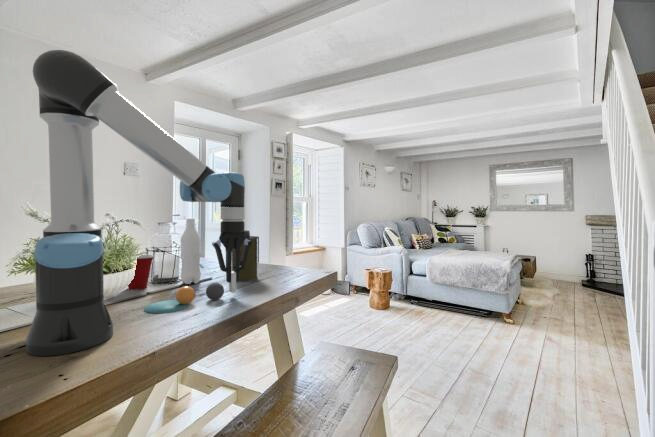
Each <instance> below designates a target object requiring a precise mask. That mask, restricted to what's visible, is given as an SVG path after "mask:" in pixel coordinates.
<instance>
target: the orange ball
mask: <svg viewBox="0 0 655 437" xmlns="http://www.w3.org/2000/svg"><path fill="white" fill-rule="evenodd" d="M195 298H196V292H195V290H194V288H193V287H191V286H188V285H183V286H181V287H180V288H178V289H177V290H176V292H175V300H177V302H179V303H180V304H189V305H190V304H191V303H192V302H193V301H194V300H195Z"/></svg>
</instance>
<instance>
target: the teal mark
mask: <svg viewBox="0 0 655 437" xmlns="http://www.w3.org/2000/svg"><path fill="white" fill-rule="evenodd" d="M189 306H190V303H189V304H180V303H179V302H177V300H176V299H174V300H173V299H171V300H170V299H169V300H163V301H162V300H161V301H158V302H153V303H151V304H148V305H146V306H144V308H143V311H144V312H145V313H149V314H169V313H174V312H179V311H182V310H184V309H187V308H188V307H189Z"/></svg>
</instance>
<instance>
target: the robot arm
mask: <svg viewBox="0 0 655 437" xmlns="http://www.w3.org/2000/svg"><path fill="white" fill-rule="evenodd" d="M32 75H33V76H32V77H33V79H34V81H35V84H36V85H37V88H38V106H39V107H38V108H39V117H40V119H42V120H43V121H44V122H45V123H46V124H47V126H48V154H49V155H48V156H49V158H48V160H49V190H50V191H49V192H50V193H49V194H50V223H49V225H47V226H46V227H45V228H43V229H42V235H43V236H42V237H41V238H40V239H38V240H37V241H36V243H35V246H34V251H33V258H34V263H35V267H34V268H35V304H36V306H35V307H36V309H35V310H36V312H35V315H34V317H33V319H32V322H31V326H30V328H29V330H28V334H27V335H26V338H25V352H26V353H27V354H29V355H32V356H37V357H38V356H41V357H45V356H46V357H49V356H58V355H65V354H70V353H71V354H72V353H75V352H79V351H83V350H86V349H90V348H93V347H95V346H98V345H100V344H102V343H104V342H106V341H107V340H109V339H110V338H111V337H112V336H113V335H114V324H113V321H112V318H111V316H110V313H109V311H108V309H107V306H106V305H105V300H104V253H105V248H104V245H103V240H102V239H103V237H102V236H103V235H102V227H101V226H100V225H98V224H97V223H96V222H95V200H94V199H95V198H94V194H95V192H94V160H93V158H94V156H93V155H94V154H93V153H94V152H93V129H95V128H96V127H98V126H99V124H100V121H101V123H103V124H105V125H106V127H108V128H110V129H111V130H113V131H114V132H115V133H117V134H118V135H119V136H121V137H122V138H123V139H125V140H126V141H127V142H128V143H130V144H131V145H132V146H134V147H135V148H136V149H138V150H139V151H140V152H142V153H144V155H146V156H147V157H148V158H150V160H153V161H154V162H156V164H158V165H159V166H160V167H162V168H163V169H164V170H166V171H167V172H168V173H170V174H171V175H172V176H174V178H176V179H178V180H179V181H180V182H179V197H180V199H181V200H182V201H183V202H187V203H188V202H189V203H195V202H196V203H206V202H207V203H220V220H221V222H220V233H219V234H220V235H219V237H218V239H217V240H216V241H213V242H212V243H211V245H212V247H213V248H214V249H215V254H216V257H217V261H218V266H219V268H220V271H221V272H223V273H225V280H226V282H227V283H228V287H229V288H228V289H229V290H228V291H229V292H230V293H232V294H234V293H237V283H238V282H237V281H239V272H240V270H244V269H245V265H246V260H247V256H248V252H249V248H250V246H251V245H252V241H249V240H248V239H246V236H245V234H244V231H245V221H243V220H245V191H246V190H245V189H246V187H245V186H246V185H245V177H244V175H243V173H239V172H222V173H218V172H215V171H214V170H213V169H212V168H211V167H209V166H207V164H206V163H204V162H203V161H202V160H200V158H198V157H197V156H196V155H195V154H193V153H192V152H191V151H189V150H188V148H186V147H185V146H184V145H183V144H181V143H180V142H179V141H178V140H176V138H174V137H173V136H172V135H171V134H169V133H168V132H167V131H165V130H164V129H163V128H162V127H160V125H159V124H157V123H156V122H155V121H154V120H152V119H151V118H150V117H149V116H147V115H146V113H144V112H143V111H142V110H140V109H139V108H138V107H136V106H135V105H134V104H133V103H132V102H131V101H129V100H128V99H127V98H126V97H124V96H123V95H122V94H121V93H119V90H118V85H117V84H116V83H114V81H112V80H111V79H110V78H108V77H107V76H106V75H105V74H104V73H103V72H101V70H99V69H98V68H96V66H94V65H93V64H92V63H91V62H90V61H88V60H87V59H85V58H84V57H82V56H81V55H78V54H77V53H74V52H72V51H68V50H64V49H53V50H52V49H51V50H47V51H45V52H43V53H41V54H40V55H39V56H38V57H37V58H36V59H35V61H34V63H33V66H32ZM243 242H244V247H243V252H242V256H241V260H240V264H239V252H240V247H241V245H242V244H243ZM222 245H223V247H224V248H225V260H224V255H223V253H222V252H223V251H222V249H221V246H222ZM232 249H233V251H234V271H232Z"/></svg>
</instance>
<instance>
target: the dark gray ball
mask: <svg viewBox="0 0 655 437" xmlns="http://www.w3.org/2000/svg"><path fill="white" fill-rule="evenodd" d="M224 294H225V289H224V286H223V285H222V284H221V283H220V282H213V283H212V282H211V283H210V284H208V286H207V288H206V290H205V295H206V297H207V298H208V299H209V300H210V301H211V300H212V301H217V300H220V299H221V298H222V297H223V296H224Z"/></svg>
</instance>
